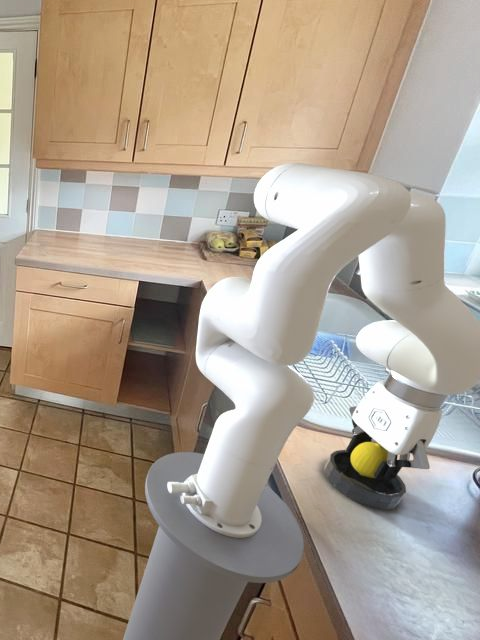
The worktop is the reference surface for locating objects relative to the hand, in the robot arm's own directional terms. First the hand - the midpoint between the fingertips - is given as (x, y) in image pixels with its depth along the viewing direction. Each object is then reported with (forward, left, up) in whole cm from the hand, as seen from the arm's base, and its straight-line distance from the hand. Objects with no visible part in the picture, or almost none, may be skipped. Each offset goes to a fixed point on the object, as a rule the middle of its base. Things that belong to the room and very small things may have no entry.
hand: (368, 464), depth 80 cm
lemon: (0, 0, -3) cm, 3 cm away
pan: (+1, 0, -6) cm, 6 cm away
